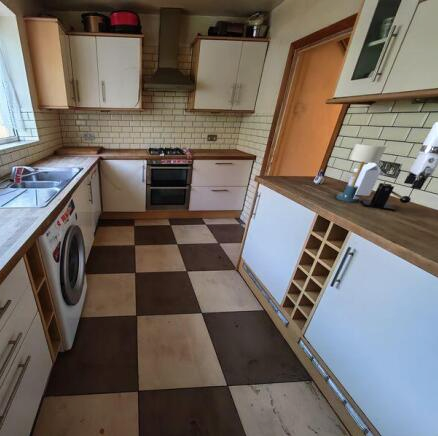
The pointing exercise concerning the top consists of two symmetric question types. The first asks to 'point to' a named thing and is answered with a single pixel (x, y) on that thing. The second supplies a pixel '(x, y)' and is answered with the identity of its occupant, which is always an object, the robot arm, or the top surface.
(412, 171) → the robot arm
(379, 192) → the switch bracket
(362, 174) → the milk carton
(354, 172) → the sprinkles bottle
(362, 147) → the table lamp
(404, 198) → the lamp switch
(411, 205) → the top surface
